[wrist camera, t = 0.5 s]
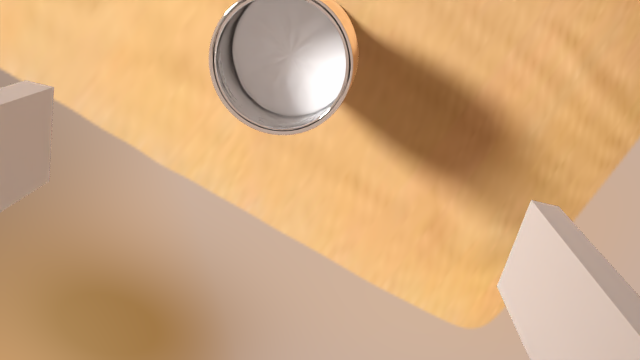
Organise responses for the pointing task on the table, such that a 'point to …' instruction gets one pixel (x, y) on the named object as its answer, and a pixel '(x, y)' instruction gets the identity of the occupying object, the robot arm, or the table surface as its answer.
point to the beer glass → (283, 62)
